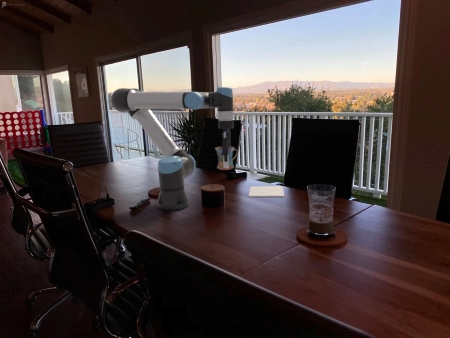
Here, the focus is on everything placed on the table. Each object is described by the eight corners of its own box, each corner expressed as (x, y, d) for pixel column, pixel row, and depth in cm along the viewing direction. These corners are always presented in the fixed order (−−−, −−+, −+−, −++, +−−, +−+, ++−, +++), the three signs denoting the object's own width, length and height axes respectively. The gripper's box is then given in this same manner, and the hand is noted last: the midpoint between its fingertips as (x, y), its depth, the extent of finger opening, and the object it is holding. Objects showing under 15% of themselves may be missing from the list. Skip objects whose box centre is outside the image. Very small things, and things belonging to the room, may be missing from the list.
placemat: (284, 196, 163) (284, 195, 163) (248, 196, 165) (248, 195, 165) (282, 187, 180) (282, 186, 180) (250, 187, 183) (250, 186, 183)
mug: (222, 171, 153) (221, 149, 151) (212, 168, 161) (211, 147, 159) (243, 168, 159) (242, 147, 157) (233, 165, 167) (232, 145, 165)
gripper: (231, 121, 144) (232, 170, 148) (235, 118, 164) (236, 162, 169) (214, 121, 145) (216, 170, 149) (221, 118, 165) (222, 162, 170)
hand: (227, 166), depth 159 cm, fingers closed on mug, 8 cm apart
